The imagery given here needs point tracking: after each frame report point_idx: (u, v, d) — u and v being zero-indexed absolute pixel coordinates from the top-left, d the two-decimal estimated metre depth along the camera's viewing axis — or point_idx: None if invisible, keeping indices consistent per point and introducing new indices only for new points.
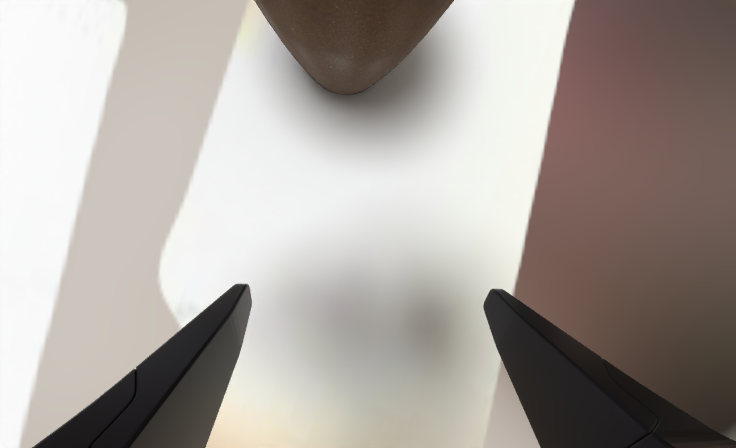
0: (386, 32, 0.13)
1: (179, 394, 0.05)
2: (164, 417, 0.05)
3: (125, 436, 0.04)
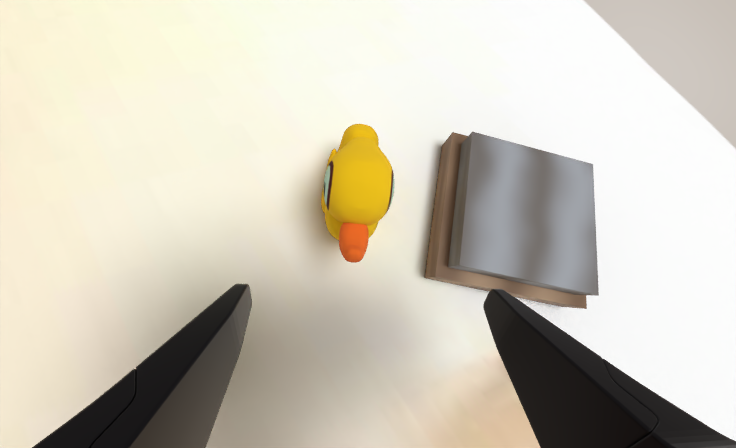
0: None
1: (179, 394, 0.05)
2: (164, 417, 0.05)
3: (125, 436, 0.04)
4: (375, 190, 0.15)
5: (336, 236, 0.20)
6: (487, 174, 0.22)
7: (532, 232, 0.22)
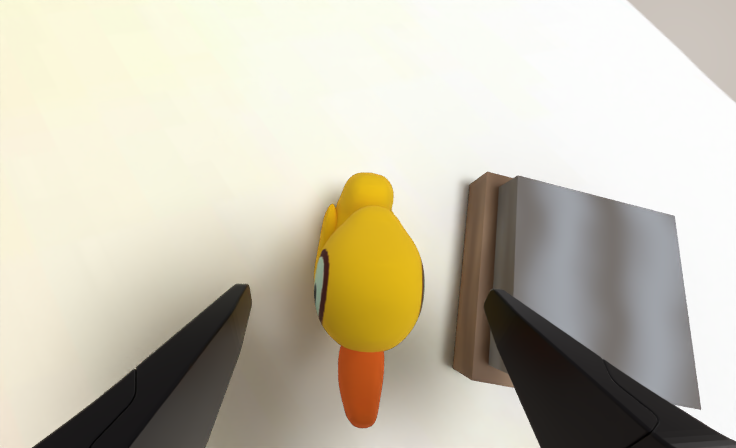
0: None
1: (179, 394, 0.05)
2: (164, 417, 0.05)
3: (125, 436, 0.04)
4: (398, 312, 0.09)
5: None
6: (541, 235, 0.16)
7: (605, 318, 0.16)
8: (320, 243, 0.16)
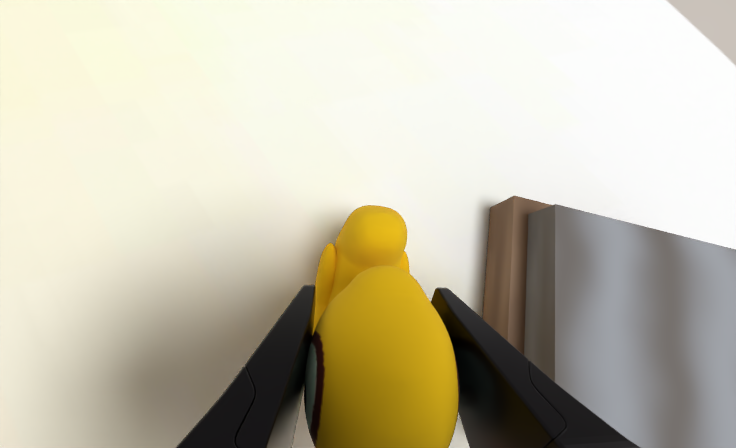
0: None
1: (288, 390, 0.06)
2: (282, 412, 0.05)
3: (261, 429, 0.05)
4: None
5: None
6: (585, 280, 0.13)
7: (666, 384, 0.13)
8: (316, 290, 0.13)
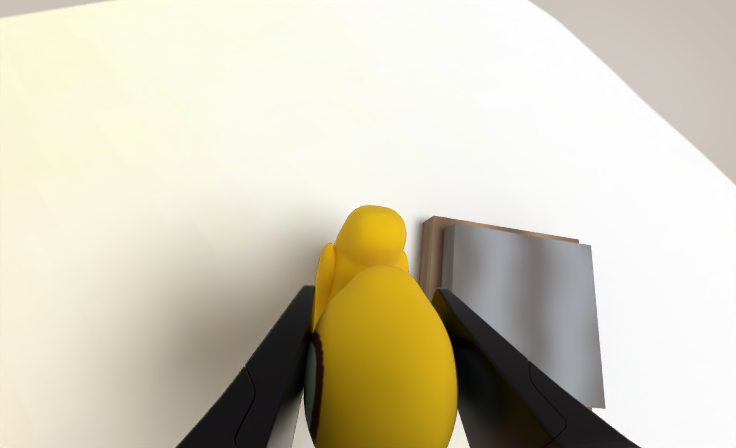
0: None
1: (288, 390, 0.06)
2: (282, 412, 0.05)
3: (262, 429, 0.05)
4: None
5: None
6: (474, 275, 0.20)
7: (527, 340, 0.19)
8: None
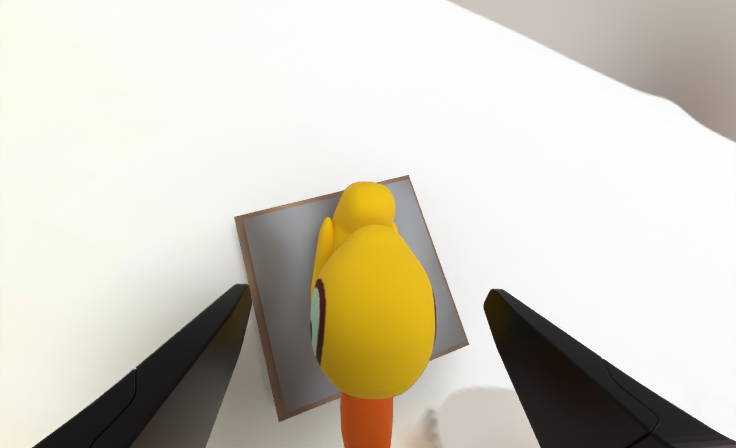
0: None
1: (179, 394, 0.05)
2: (164, 417, 0.05)
3: (125, 436, 0.04)
4: (409, 356, 0.08)
5: None
6: (282, 267, 0.17)
7: None
8: (316, 260, 0.14)
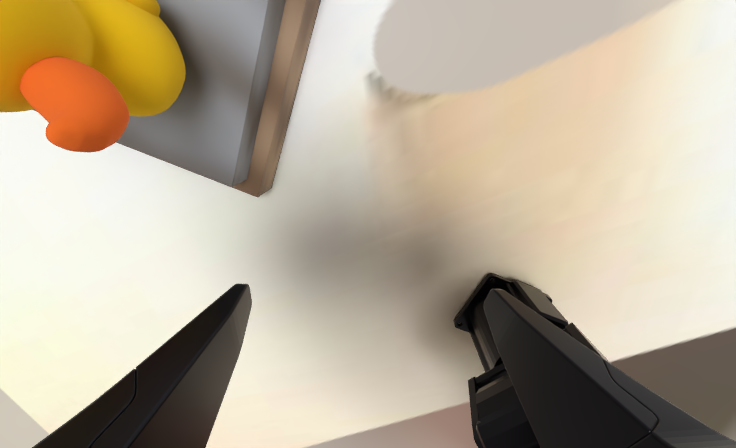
0: None
1: (179, 394, 0.05)
2: (164, 417, 0.05)
3: (125, 436, 0.04)
4: None
5: (143, 112, 0.11)
6: None
7: None
8: None
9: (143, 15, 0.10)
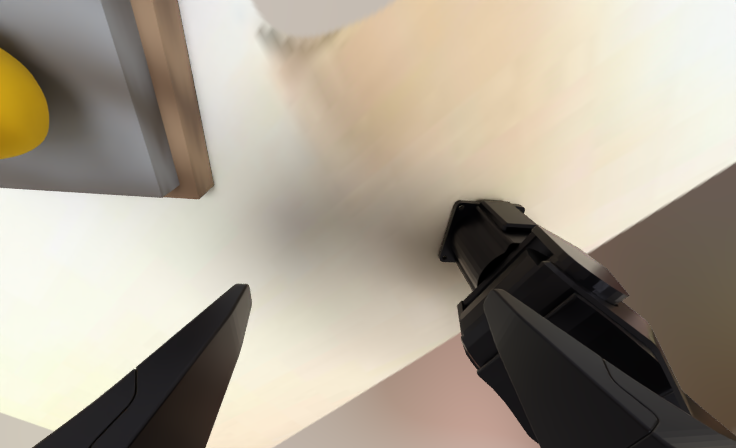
0: None
1: (179, 394, 0.05)
2: (164, 417, 0.05)
3: (125, 436, 0.04)
4: None
5: (13, 151, 0.10)
6: None
7: None
8: None
9: None
